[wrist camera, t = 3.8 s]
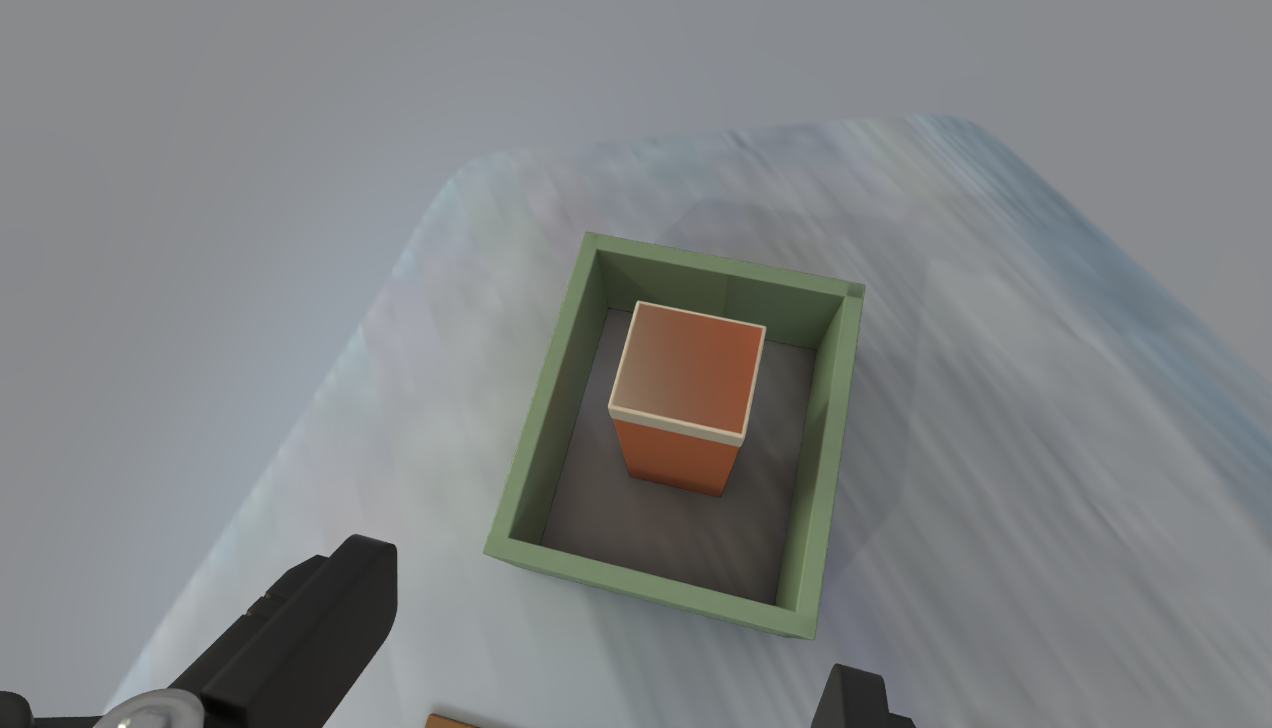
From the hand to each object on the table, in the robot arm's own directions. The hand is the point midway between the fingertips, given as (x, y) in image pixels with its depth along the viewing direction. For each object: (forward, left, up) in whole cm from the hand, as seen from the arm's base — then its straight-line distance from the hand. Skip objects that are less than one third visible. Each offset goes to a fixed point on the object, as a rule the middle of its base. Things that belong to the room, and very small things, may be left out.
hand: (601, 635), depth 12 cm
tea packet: (0, -9, -19) cm, 21 cm away
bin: (0, -9, -19) cm, 21 cm away
